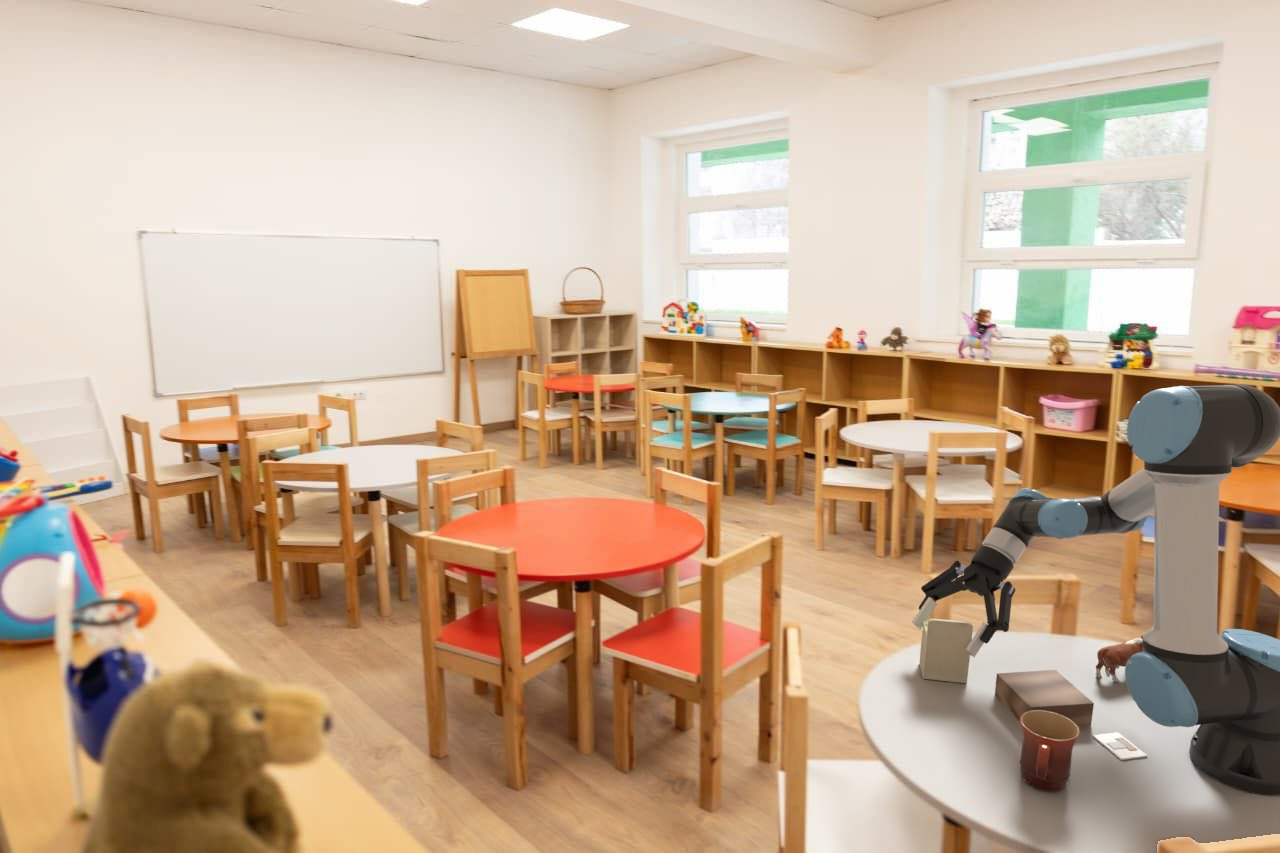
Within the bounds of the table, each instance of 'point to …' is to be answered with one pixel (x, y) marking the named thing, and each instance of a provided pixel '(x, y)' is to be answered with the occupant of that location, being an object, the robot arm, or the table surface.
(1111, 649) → the bull figurine
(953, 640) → the toy sink
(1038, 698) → the walnut block
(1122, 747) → the card
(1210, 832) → the table surface
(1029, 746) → the mug
